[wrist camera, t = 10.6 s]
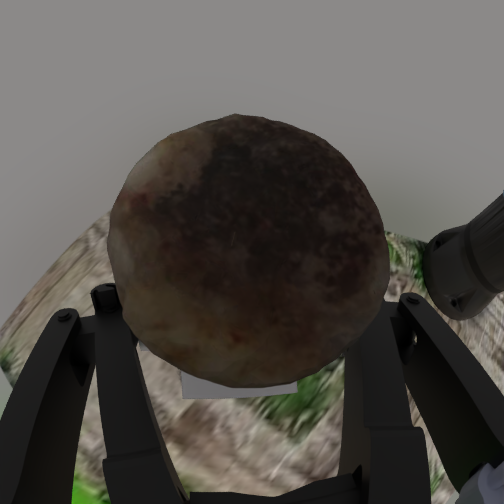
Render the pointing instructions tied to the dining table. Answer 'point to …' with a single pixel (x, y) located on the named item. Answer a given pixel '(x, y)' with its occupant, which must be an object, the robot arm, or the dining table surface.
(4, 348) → the dining table surface
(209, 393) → the stand
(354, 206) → the candle
